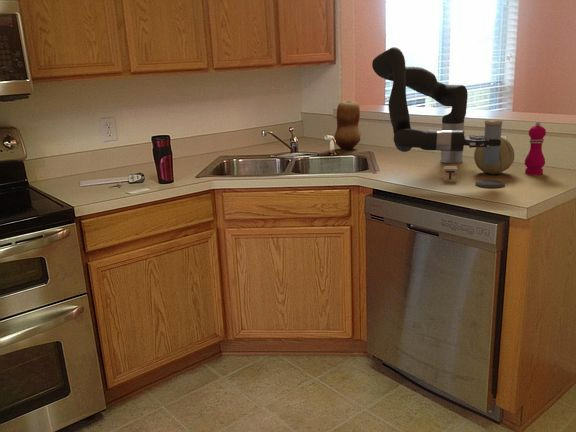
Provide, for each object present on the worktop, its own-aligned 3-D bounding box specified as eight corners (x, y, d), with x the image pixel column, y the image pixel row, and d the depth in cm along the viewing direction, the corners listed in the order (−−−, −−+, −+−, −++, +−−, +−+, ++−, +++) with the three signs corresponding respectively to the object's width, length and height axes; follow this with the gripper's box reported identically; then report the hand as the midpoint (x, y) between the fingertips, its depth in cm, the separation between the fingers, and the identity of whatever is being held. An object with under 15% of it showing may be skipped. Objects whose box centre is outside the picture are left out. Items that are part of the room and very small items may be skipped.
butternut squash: (354, 152, 274) (353, 102, 267) (330, 150, 280) (329, 102, 273) (364, 147, 285) (364, 99, 278) (341, 146, 292) (340, 100, 285)
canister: (481, 161, 195) (484, 120, 191) (498, 161, 193) (502, 120, 189) (482, 164, 189) (485, 122, 185) (499, 164, 188) (503, 121, 184)
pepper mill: (544, 172, 209) (548, 120, 204) (544, 175, 203) (548, 122, 198) (524, 171, 212) (528, 120, 207) (523, 175, 206) (527, 122, 200)
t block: (443, 178, 207) (443, 166, 206) (456, 178, 206) (457, 166, 204) (443, 181, 202) (443, 168, 201) (456, 182, 201) (457, 168, 200)
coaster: (475, 181, 200) (475, 180, 199) (503, 182, 197) (503, 180, 197) (475, 187, 191) (475, 186, 190) (505, 188, 188) (506, 186, 187)
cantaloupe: (514, 177, 202) (517, 138, 198) (473, 177, 207) (475, 138, 202) (511, 169, 216) (513, 132, 212) (472, 169, 220) (474, 133, 216)
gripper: (450, 133, 186) (502, 133, 181) (450, 127, 199) (499, 128, 194) (449, 154, 188) (500, 155, 183) (449, 148, 201) (498, 148, 196)
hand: (499, 141), depth 188 cm, fingers closed on canister, 5 cm apart
